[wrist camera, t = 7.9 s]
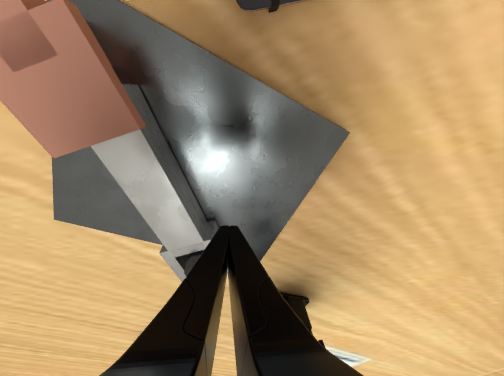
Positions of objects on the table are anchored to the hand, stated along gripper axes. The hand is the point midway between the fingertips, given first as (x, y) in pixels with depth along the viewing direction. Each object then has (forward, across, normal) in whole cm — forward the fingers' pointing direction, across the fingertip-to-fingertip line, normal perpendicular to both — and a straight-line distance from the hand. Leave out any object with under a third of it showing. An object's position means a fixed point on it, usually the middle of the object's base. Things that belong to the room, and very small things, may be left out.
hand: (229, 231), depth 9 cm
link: (+8, +5, +3) cm, 10 cm away
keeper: (+9, +9, -6) cm, 14 cm away
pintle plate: (+9, +3, +1) cm, 10 cm away
